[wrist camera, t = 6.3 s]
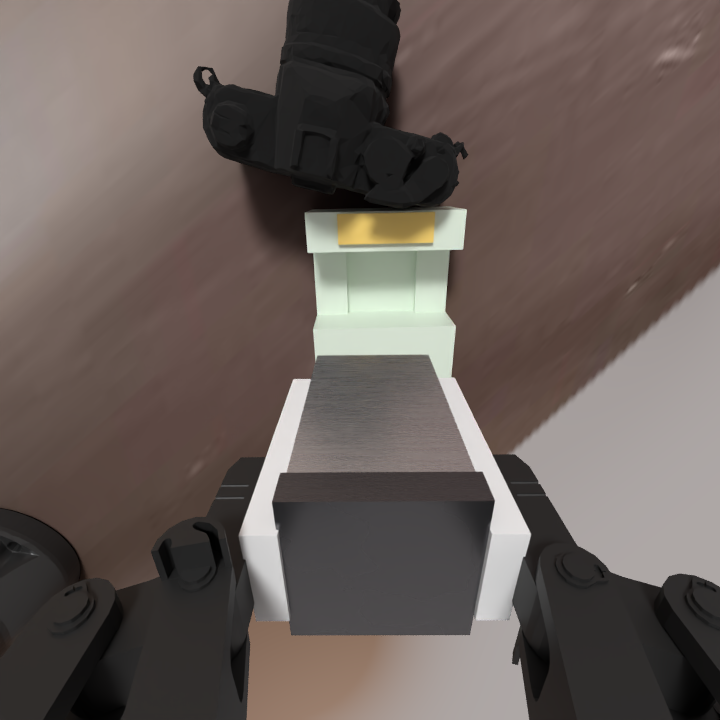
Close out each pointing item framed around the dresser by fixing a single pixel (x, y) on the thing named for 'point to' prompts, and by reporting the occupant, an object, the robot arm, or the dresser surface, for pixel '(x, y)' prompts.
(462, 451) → the plug
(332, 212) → the socket block
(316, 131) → the film camera
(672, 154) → the dresser surface
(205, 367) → the dresser surface
